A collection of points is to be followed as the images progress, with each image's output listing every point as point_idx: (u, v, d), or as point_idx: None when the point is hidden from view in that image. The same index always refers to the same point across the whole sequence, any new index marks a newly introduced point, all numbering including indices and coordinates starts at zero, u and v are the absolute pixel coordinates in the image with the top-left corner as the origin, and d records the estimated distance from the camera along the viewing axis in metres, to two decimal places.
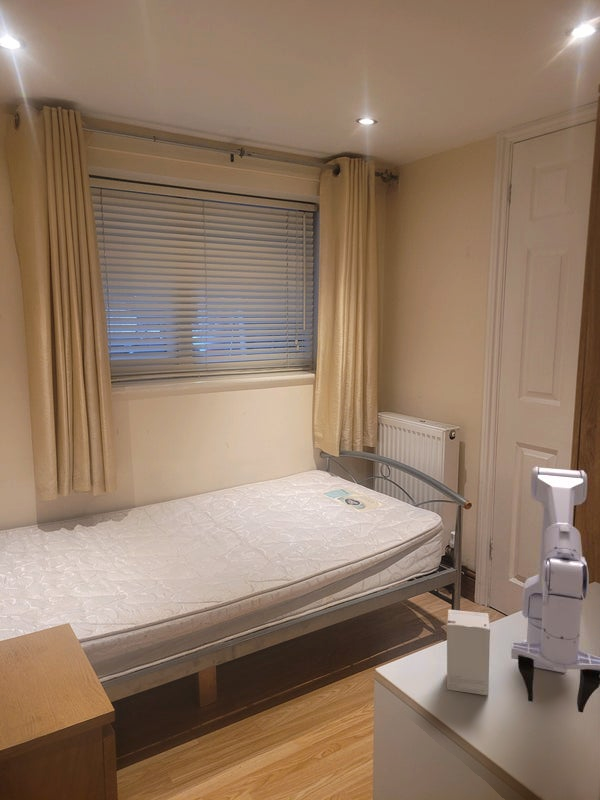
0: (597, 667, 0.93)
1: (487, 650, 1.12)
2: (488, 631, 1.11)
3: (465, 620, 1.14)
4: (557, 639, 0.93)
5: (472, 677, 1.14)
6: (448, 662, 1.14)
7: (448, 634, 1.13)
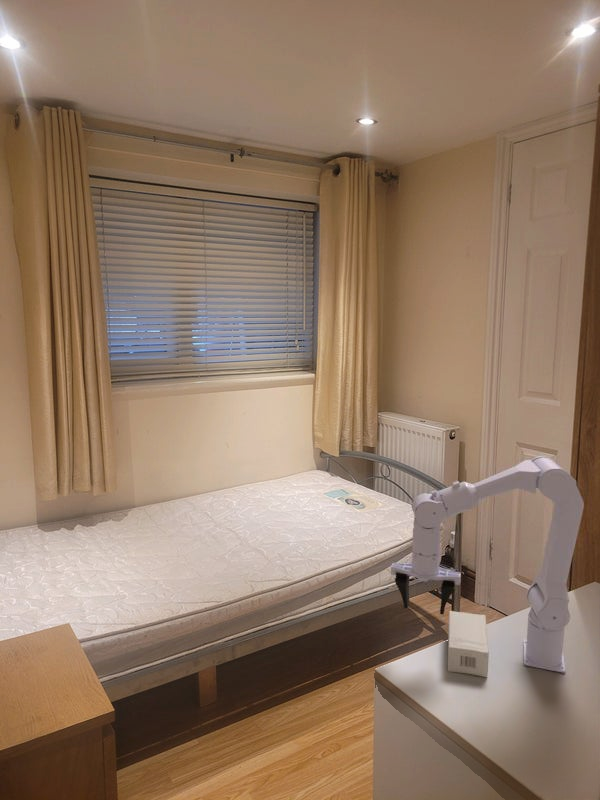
0: (451, 578, 1.21)
1: (484, 625, 1.28)
2: (484, 615, 1.32)
3: None
4: (421, 556, 1.21)
5: (473, 640, 1.22)
6: (450, 630, 1.26)
7: (450, 615, 1.32)
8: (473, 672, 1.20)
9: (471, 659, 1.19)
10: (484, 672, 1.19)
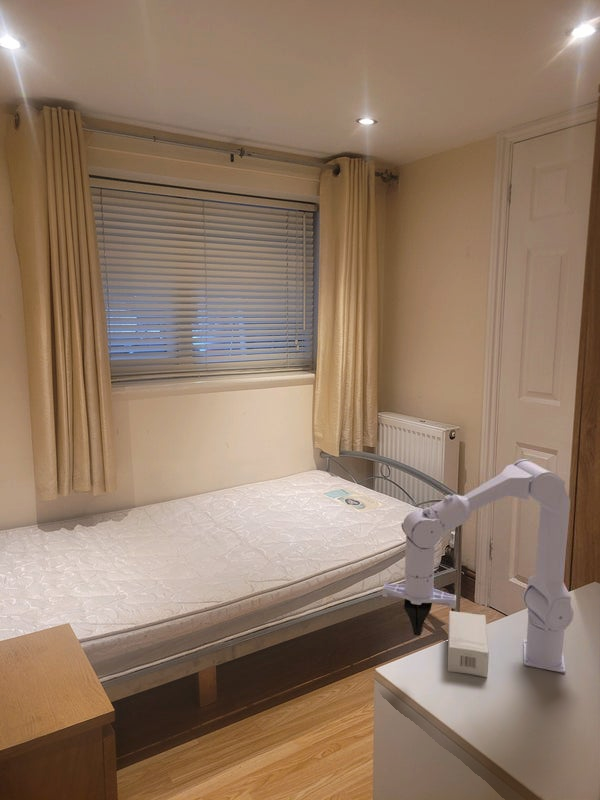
0: (446, 601, 1.14)
1: (484, 625, 1.28)
2: (484, 615, 1.32)
3: None
4: (414, 578, 1.14)
5: (473, 640, 1.22)
6: (450, 630, 1.26)
7: (450, 615, 1.32)
8: (473, 672, 1.20)
9: (471, 659, 1.19)
10: (484, 672, 1.19)
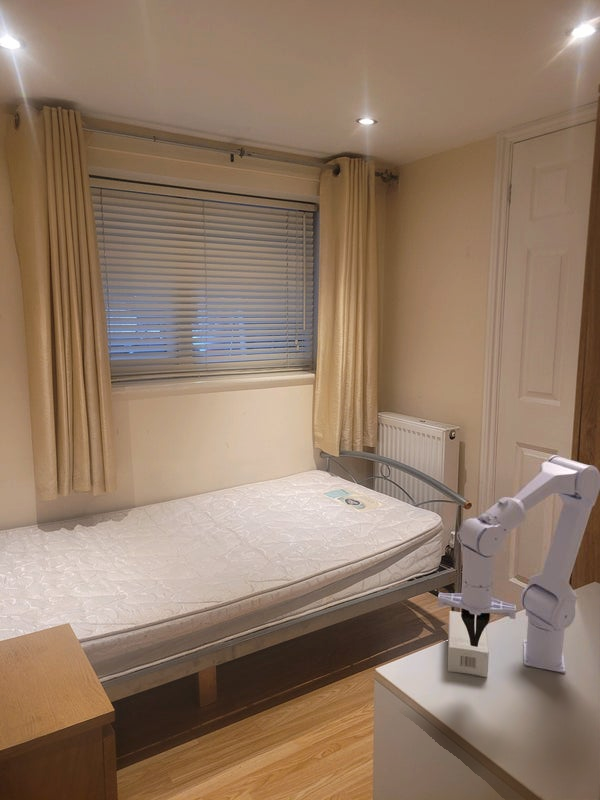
0: (506, 611, 1.10)
1: None
2: None
3: None
4: (472, 587, 1.10)
5: None
6: (450, 630, 1.26)
7: (450, 615, 1.32)
8: (473, 672, 1.20)
9: (471, 659, 1.19)
10: (484, 672, 1.19)
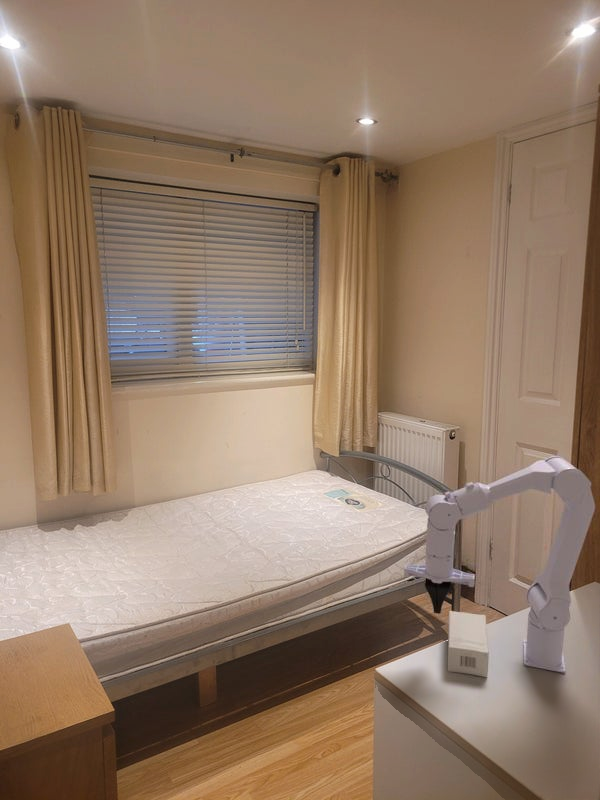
0: (465, 580, 1.20)
1: (484, 625, 1.28)
2: (484, 615, 1.32)
3: None
4: (435, 558, 1.20)
5: (473, 640, 1.22)
6: (450, 630, 1.26)
7: (450, 615, 1.32)
8: (473, 672, 1.20)
9: (471, 659, 1.19)
10: (484, 672, 1.19)
